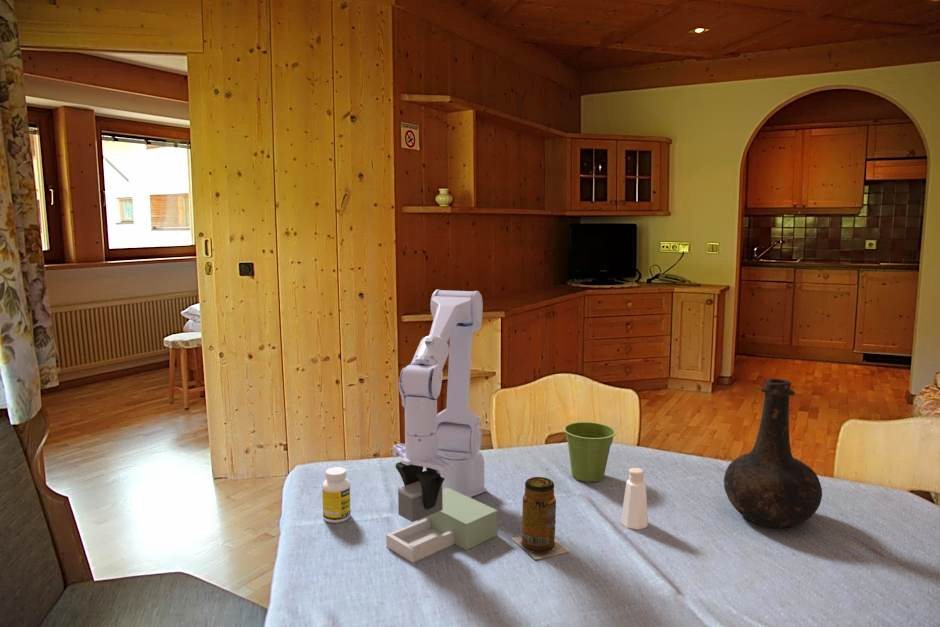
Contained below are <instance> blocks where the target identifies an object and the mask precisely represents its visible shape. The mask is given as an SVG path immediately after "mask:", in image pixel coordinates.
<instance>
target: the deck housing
mask: <svg viewBox="0 0 940 627" xmlns="http://www.w3.org/2000/svg"><path fill="white" fill-rule="evenodd" d="M442 504H443V510H441V511H439V512H436V513H434V514H431V515H429V516H427V517H424V518H422V519H419V520H417V521H414V522H412V523H411V524H408V525H406V526H403V527H402V528H399V529H395V530H394V531H391V532H389V533H386V535H385V537H386V548H388V549H389V550H391V551H392V552H394V553H395V554H398V555H399V556H401V557H402V558H404V559H406V560H407V561H409V562H410V563H412V564H413V563H415V562H418V561H420V560H422V559H424V558H426V557H428V556H431V555H433V554H436V553H437V552H440V551H442V550H444V549H446V548H448V547H450V546H453V545H456V546H459V547H460V548H462V549H464V551H465V550H466V551H468V550H470V549H472V548H473V547H475V546H477V545H480V544H482V543H485V542H486V541H488V540H490V539H492V538H495V537H496V536H498V509H496V508H493V507H492V506H489V505H487V504H484V503H482V502H480V501H478V500H476V499H474V498H473V497H471V498H470V497H467V496H465V495H463V494H461V493H459V492H457V491H454V490H452V489H450V488H445V489H443V490H442Z"/></svg>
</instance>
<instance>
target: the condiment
mask: <svg viewBox="0 0 940 627" xmlns="http://www.w3.org/2000/svg"><path fill="white" fill-rule="evenodd" d="M524 483H525V484H524V494H523V496H522V512H521V513H522V516H521V517H522V518H521V520H522V521H521V522H522V523H521V536H515V537H512V538H511V540H512V541H513V542H514V543H515V544H516V545H518V547H520V548H521V549H522V550H524V551H525V552H526V554H528V555H530V557H532V558H533V559H534V560H541V559H545V558H551V557H553V556H555V557H556V556H558V555H562V554H565V553H569V552H570V550H569V549H568V548H567V547H566V546H564V545H563V544H562V543H561V542H559V540H556V539H555V538H556V536H555V535H556V517H557V515H556V512H557V506H556V505H557V499H556V496H555V483H554V481H553V480H552V479H550V478H548V477H543V476H534V477H533V476H532V477H529V478H528V479H526V481H525V482H524Z"/></svg>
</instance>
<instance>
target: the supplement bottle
mask: <svg viewBox="0 0 940 627" xmlns="http://www.w3.org/2000/svg"><path fill="white" fill-rule="evenodd" d="M321 487H322V488H321V490H322V493H321V494H322V517H323V520H324V521H325V522H328V523H332V524H336V523H343V522H346V521H347V520H348V519H349V518H350V517H351V512H352V511H351V483H350V481H349V479H347V468H345V467H341V466H335V467H330V468H328V469H326V470H325V480H324V481H323V483H322V485H321Z"/></svg>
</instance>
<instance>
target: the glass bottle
mask: <svg viewBox="0 0 940 627" xmlns="http://www.w3.org/2000/svg"><path fill="white" fill-rule="evenodd" d="M791 385H792V382H791V381H789V380H786V379H779V378H769V379H766V380H765V386H763V387H761V388H760V389H759V391H760V392H762V393H764V401H763V405H762V406H763V407H762V411H761V419H760V423H759V424H760V425H759V429H758V433H757V436H756V439H755V442H754V446H753V447H752V449H751V450H750V452H748V453H744V454H742V455H740V456H738V457H736V458H735V459H733V460H732V461H731V462H730V463H729V464H728V466H727V467H726V470H725V473H724V476H723V487H724V491H725V494H726V496H727V498H728V501H729V502H730V504H731V505H732V507H733V508H735V509H736V511H737V512H738V513H739V514H740V515H741V516H743V517H745V519H748V520H750V521H751V522H754V523H756V524H758V525H762V526H766V527H771V528H790V527H791V528H792V527H796V526H799V525H801V524H803V523H805V522H806V521H808V520H809V519H810V518H812V516H813V515H815V513H816V512H817V510H818V509H819V507H820V505H821V502H822V498H823V489H822V488H823V487H822V485H821V481H820V479H819V477H818V475H817V473H816V472H815V471H814V470H813V469H812V468H811V467H810V466H809V465H807V464H806V463H804V462H803V461H801V460H800V459H797V458H795V457H793V453H792V450H791V443H790V441H791V440H790V424H789V423H790V419H789V418H790V417H789V416H790V411H789V410H790V397H791V396H794V395H795V390H793V389H791Z"/></svg>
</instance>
